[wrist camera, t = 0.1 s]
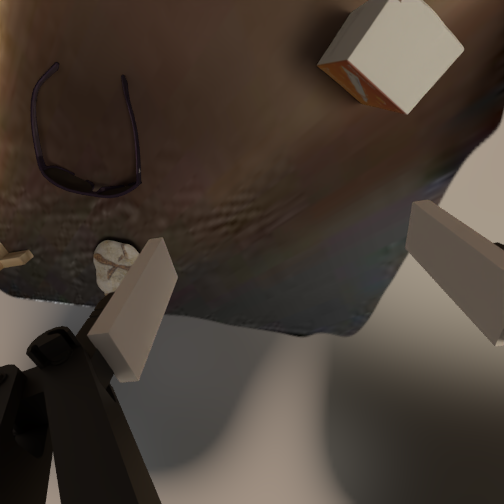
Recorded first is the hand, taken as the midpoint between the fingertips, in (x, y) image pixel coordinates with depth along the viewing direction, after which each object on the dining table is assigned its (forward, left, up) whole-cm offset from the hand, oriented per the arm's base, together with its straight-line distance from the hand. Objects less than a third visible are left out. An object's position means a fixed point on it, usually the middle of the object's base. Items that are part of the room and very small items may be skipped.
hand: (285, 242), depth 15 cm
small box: (-7, +13, -29) cm, 33 cm away
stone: (+18, -33, -30) cm, 48 cm away
